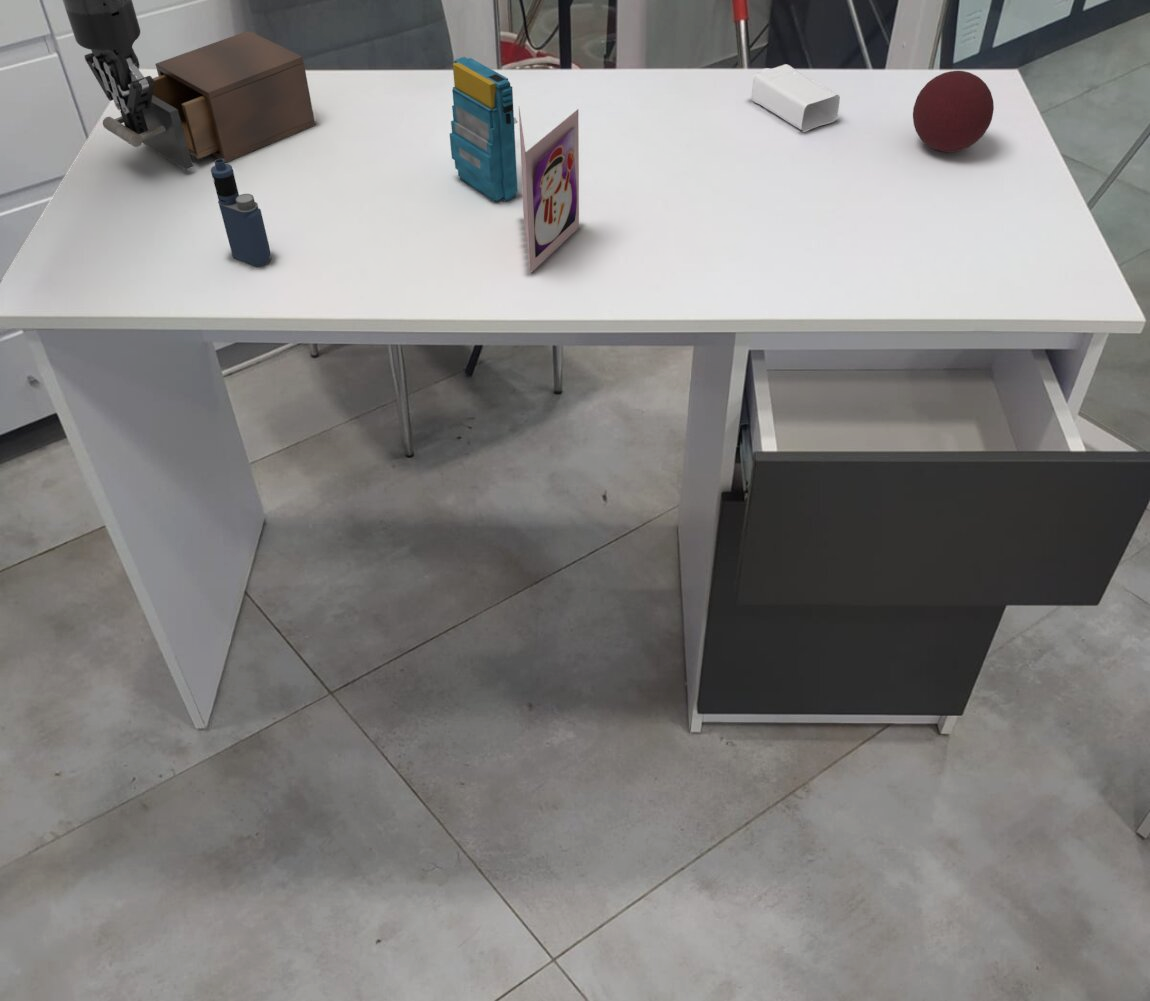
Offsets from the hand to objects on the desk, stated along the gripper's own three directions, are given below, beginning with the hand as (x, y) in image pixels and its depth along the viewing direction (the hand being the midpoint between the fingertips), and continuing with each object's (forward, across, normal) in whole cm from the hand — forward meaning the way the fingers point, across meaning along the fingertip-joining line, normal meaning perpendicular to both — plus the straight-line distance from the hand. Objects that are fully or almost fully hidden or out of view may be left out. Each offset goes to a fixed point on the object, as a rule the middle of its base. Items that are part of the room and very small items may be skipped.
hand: (139, 136), depth 143 cm
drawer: (+3, 0, +7) cm, 7 cm away
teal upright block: (+5, +36, +27) cm, 45 cm away
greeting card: (+5, +50, +22) cm, 55 cm away
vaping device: (+5, +28, -3) cm, 28 cm away
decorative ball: (+5, +73, +76) cm, 105 cm away
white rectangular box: (+5, +52, +71) cm, 88 cm away
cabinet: (+4, 0, +15) cm, 16 cm away
